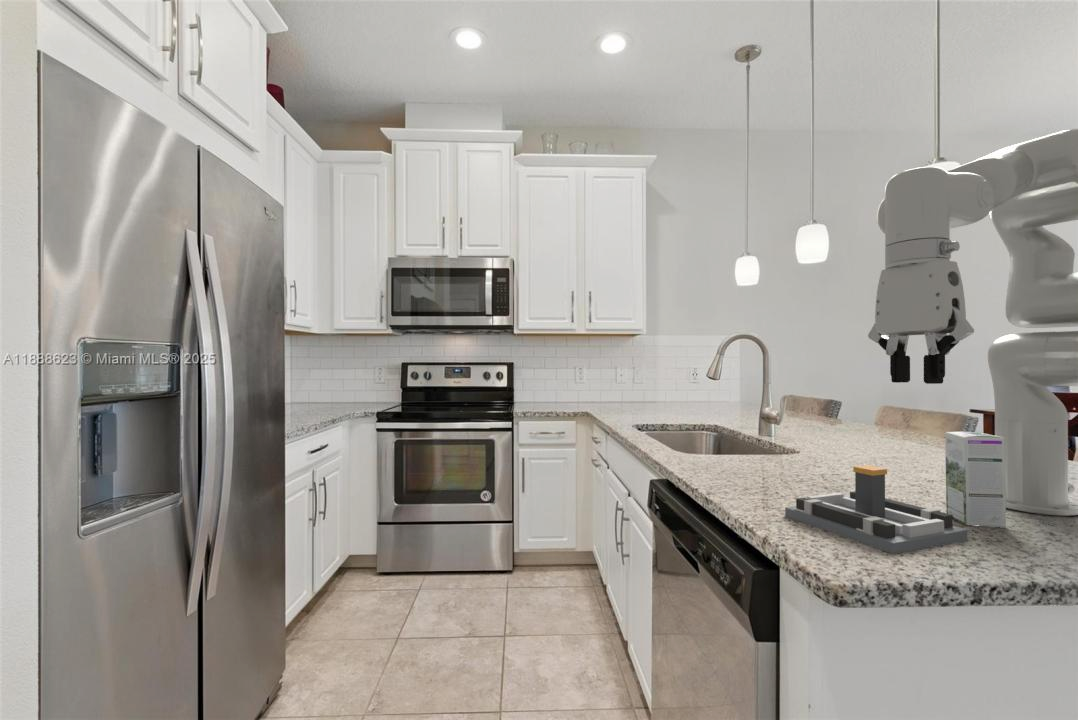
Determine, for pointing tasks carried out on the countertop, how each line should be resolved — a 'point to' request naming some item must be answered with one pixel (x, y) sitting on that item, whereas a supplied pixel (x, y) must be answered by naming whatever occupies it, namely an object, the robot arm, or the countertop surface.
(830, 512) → the pair of dark rails
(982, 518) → the syrup box
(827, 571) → the countertop surface
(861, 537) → the breaker panel
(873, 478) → the toggle knob
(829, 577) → the countertop surface
